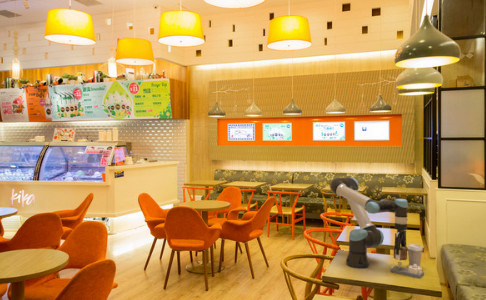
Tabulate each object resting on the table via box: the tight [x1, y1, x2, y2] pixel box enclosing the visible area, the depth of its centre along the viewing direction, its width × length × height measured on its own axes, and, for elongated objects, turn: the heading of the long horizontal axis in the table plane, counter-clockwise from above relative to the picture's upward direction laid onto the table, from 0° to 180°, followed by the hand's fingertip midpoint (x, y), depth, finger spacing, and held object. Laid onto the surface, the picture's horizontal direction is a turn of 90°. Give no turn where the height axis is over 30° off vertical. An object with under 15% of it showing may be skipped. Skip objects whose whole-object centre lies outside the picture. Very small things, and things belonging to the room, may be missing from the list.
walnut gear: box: [393, 248, 408, 261], centre depth 255 cm, size 8×8×6 cm
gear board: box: [390, 261, 425, 279], centre depth 252 cm, size 18×9×7 cm, turn 49°
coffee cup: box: [406, 243, 423, 268], centre depth 263 cm, size 10×10×15 cm
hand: (400, 258), depth 255 cm, fingers closed on walnut gear, 8 cm apart
